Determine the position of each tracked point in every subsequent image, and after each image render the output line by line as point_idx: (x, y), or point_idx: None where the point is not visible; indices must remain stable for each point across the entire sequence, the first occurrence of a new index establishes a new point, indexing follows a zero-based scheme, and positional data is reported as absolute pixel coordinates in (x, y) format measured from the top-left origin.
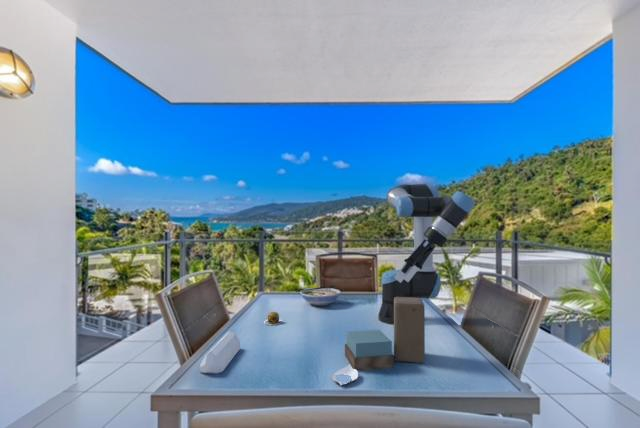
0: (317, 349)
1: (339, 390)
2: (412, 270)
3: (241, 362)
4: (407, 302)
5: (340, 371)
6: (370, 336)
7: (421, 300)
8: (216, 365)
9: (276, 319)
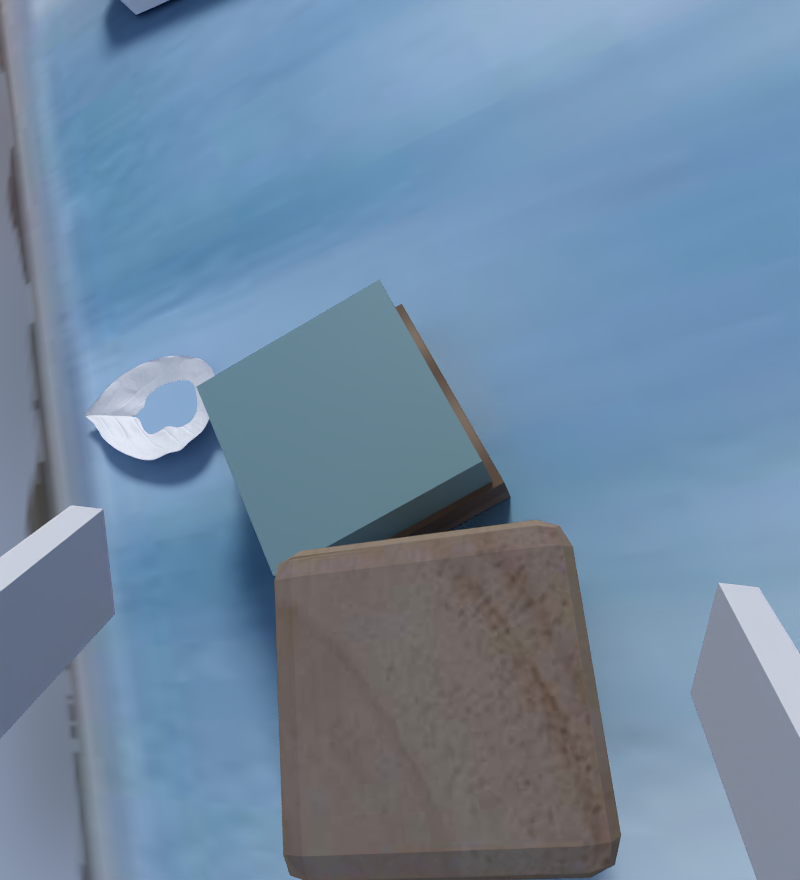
0: (448, 187)
1: (80, 419)
2: (788, 836)
3: (228, 12)
4: (294, 690)
5: (208, 375)
6: (328, 434)
7: (459, 865)
8: None
9: None
